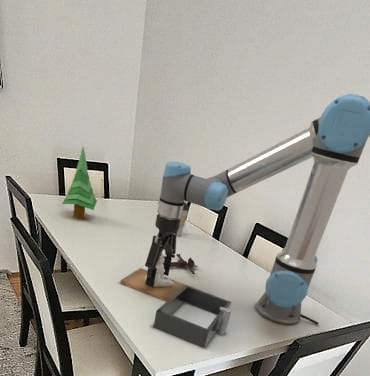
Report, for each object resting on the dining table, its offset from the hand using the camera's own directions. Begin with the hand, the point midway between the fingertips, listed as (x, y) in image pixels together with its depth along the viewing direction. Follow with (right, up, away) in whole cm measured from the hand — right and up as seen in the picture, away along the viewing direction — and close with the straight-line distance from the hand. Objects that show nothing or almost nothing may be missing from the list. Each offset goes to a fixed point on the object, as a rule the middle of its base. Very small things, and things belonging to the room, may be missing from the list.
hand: (157, 279), depth 130 cm
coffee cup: (+4, +30, +53) cm, 61 cm away
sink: (+13, -15, -14) cm, 24 cm away
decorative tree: (-39, +35, +45) cm, 69 cm away
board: (-1, -2, +1) cm, 3 cm away
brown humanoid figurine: (+7, +8, +20) cm, 22 cm away
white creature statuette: (-1, -1, +1) cm, 2 cm away
